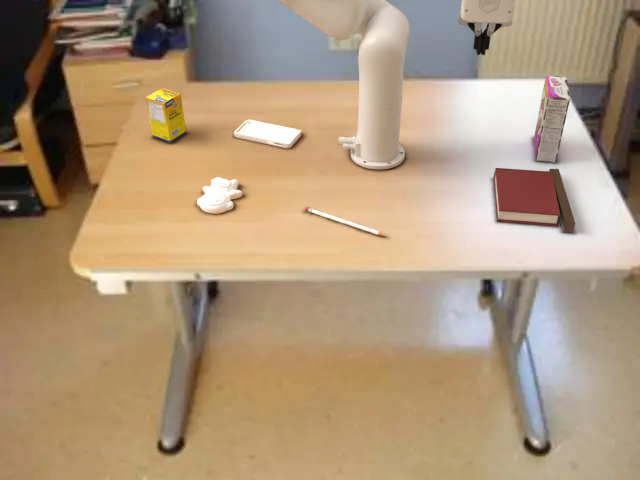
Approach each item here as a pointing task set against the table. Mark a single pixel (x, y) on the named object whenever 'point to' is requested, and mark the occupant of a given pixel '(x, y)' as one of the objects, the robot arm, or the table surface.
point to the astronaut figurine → (219, 196)
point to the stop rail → (563, 203)
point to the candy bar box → (551, 118)
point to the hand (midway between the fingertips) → (480, 52)
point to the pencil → (344, 221)
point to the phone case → (268, 133)
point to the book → (525, 197)
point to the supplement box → (166, 115)
